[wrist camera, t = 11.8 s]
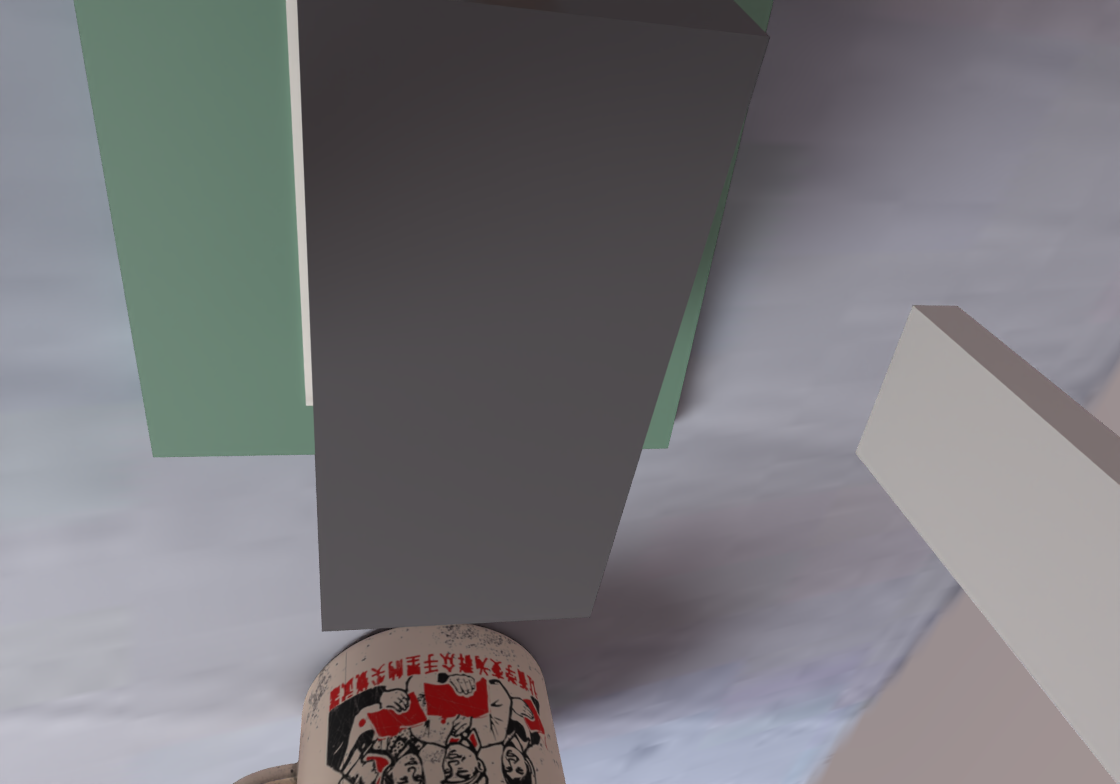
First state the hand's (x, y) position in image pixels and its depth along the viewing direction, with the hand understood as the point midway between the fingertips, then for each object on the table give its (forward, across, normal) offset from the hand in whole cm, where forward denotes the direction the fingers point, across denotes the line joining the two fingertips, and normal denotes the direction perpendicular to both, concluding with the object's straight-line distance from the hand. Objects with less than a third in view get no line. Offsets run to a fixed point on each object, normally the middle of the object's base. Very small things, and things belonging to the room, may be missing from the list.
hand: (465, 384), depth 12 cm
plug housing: (+8, +1, +3) cm, 9 cm away
